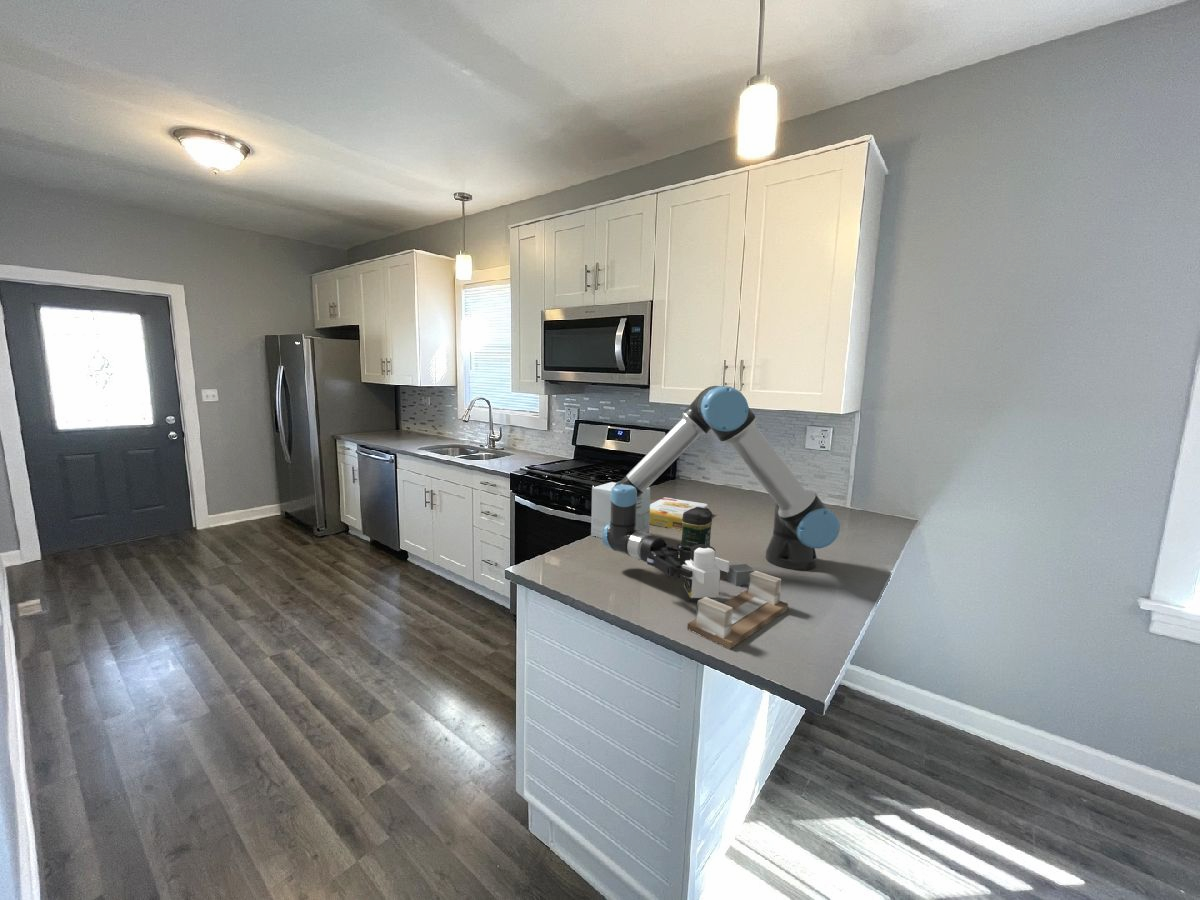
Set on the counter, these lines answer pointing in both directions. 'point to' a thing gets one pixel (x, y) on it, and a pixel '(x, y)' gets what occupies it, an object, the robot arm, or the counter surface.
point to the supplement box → (603, 509)
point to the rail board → (740, 611)
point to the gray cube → (739, 574)
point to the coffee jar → (696, 527)
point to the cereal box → (671, 512)
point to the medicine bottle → (705, 562)
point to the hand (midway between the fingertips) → (717, 572)
